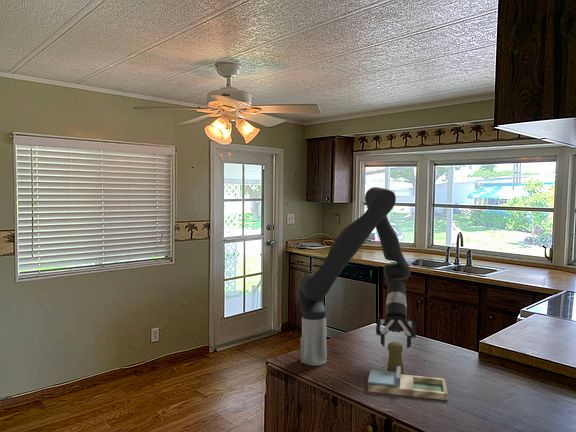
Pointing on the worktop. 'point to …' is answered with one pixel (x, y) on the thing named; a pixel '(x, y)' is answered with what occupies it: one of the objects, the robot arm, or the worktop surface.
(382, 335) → the robot arm
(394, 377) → the cover
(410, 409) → the worktop surface
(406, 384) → the board
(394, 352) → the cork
